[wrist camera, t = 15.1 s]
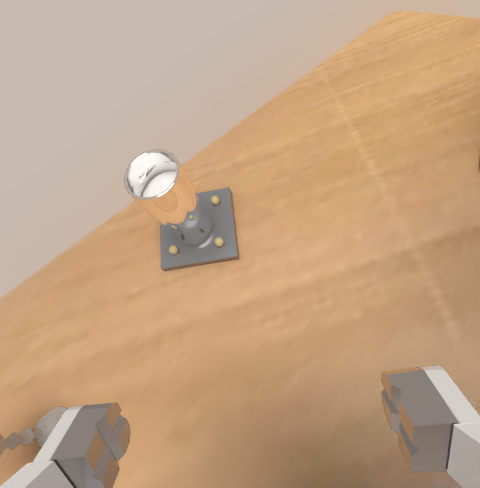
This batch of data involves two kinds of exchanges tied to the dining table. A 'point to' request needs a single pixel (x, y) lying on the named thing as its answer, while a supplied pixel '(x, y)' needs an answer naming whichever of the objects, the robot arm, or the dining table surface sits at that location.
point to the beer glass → (168, 195)
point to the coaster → (215, 246)
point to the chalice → (34, 431)
